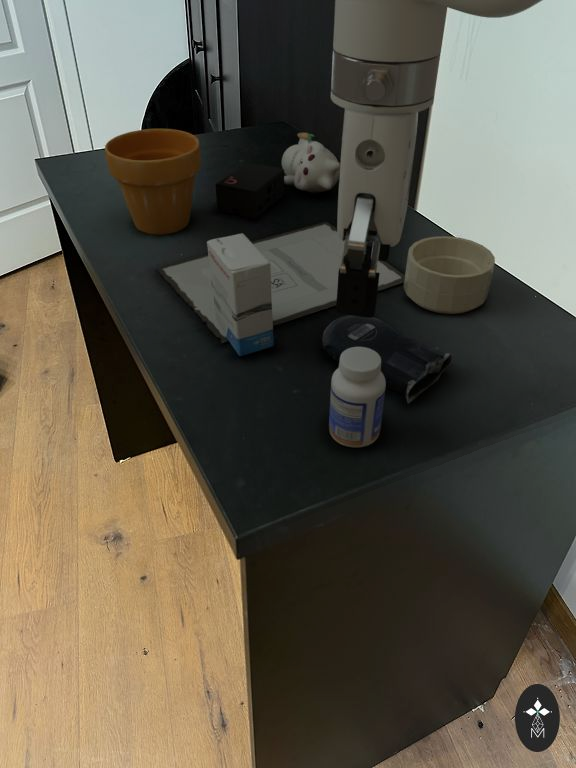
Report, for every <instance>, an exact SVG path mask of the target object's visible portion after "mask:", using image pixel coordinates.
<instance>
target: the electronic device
mask: <svg viewBox="0 0 576 768" xmlns="http://www.w3.org/2000/svg"><path fill="white" fill-rule="evenodd" d="M284 176H285V172H284V169H283V168H282V167H275V166H269V165H265V164H259V163H254V162H249V161H247V162H246V163H244V164H243V165H240V167H238V168H236V169H235V170H234V171H232V172H230V174H228V175H227V176H225V177H224V178H222V179H221V180H219V181H217V182H216V183H215V196H216V208H217V209H216V210H217V211H218V212H222V213H226V214H232V215H233V214H238V215H239V216H240V217H244V218H248V219H252V220H253V219H254V220H255V219H257V218H258V217H259V216H260V215H262V214H263V213H264V212H265V211H266V210H268V209H269V208H271V207H272V205H274V204H275V203H277V201H279V200H280V199H281V198H282V197H283V196H285V183H284Z"/></svg>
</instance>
